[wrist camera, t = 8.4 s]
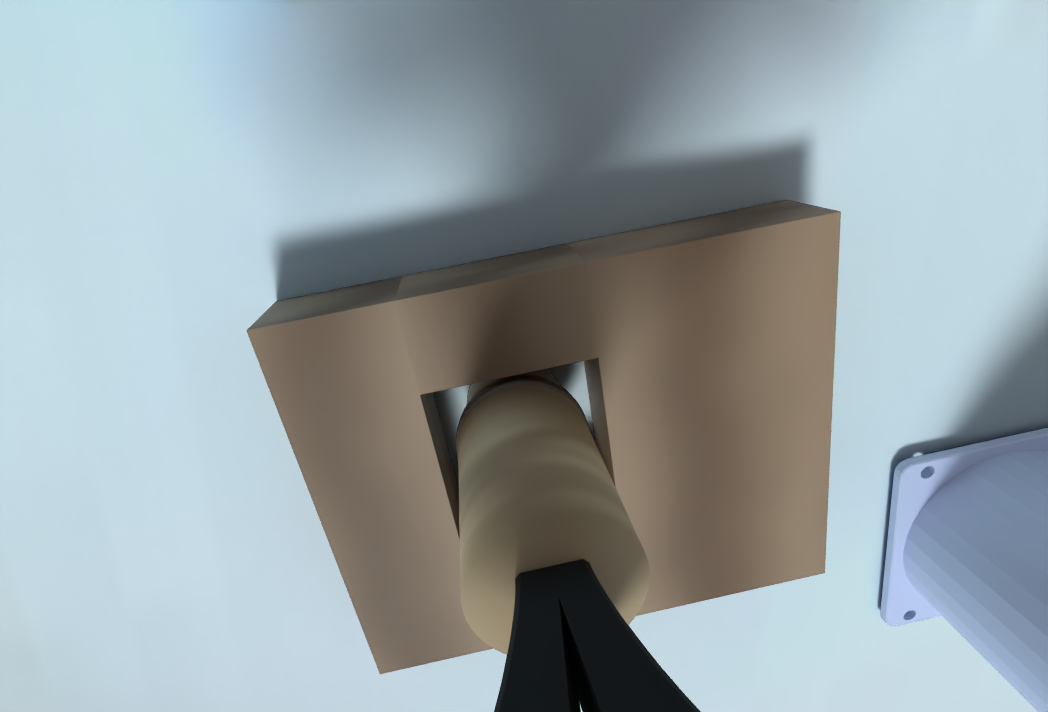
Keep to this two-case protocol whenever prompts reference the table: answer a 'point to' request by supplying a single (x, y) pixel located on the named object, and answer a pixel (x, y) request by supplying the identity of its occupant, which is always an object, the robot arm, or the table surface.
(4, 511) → the table surface
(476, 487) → the peg
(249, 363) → the table surface
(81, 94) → the table surface
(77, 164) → the table surface
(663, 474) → the board
